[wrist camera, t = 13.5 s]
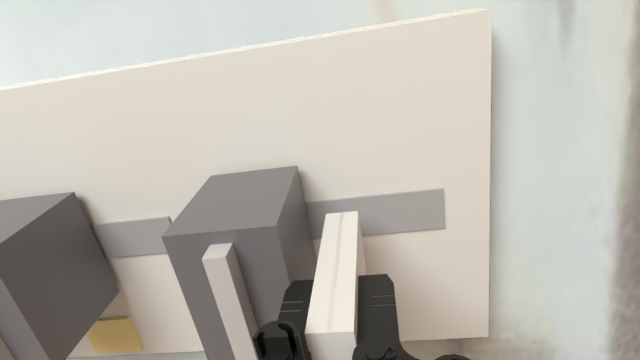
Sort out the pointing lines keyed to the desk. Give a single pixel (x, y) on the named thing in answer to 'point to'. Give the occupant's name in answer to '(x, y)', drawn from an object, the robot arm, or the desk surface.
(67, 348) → the slider
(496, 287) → the desk surface
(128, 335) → the console
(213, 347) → the slider
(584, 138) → the desk surface
